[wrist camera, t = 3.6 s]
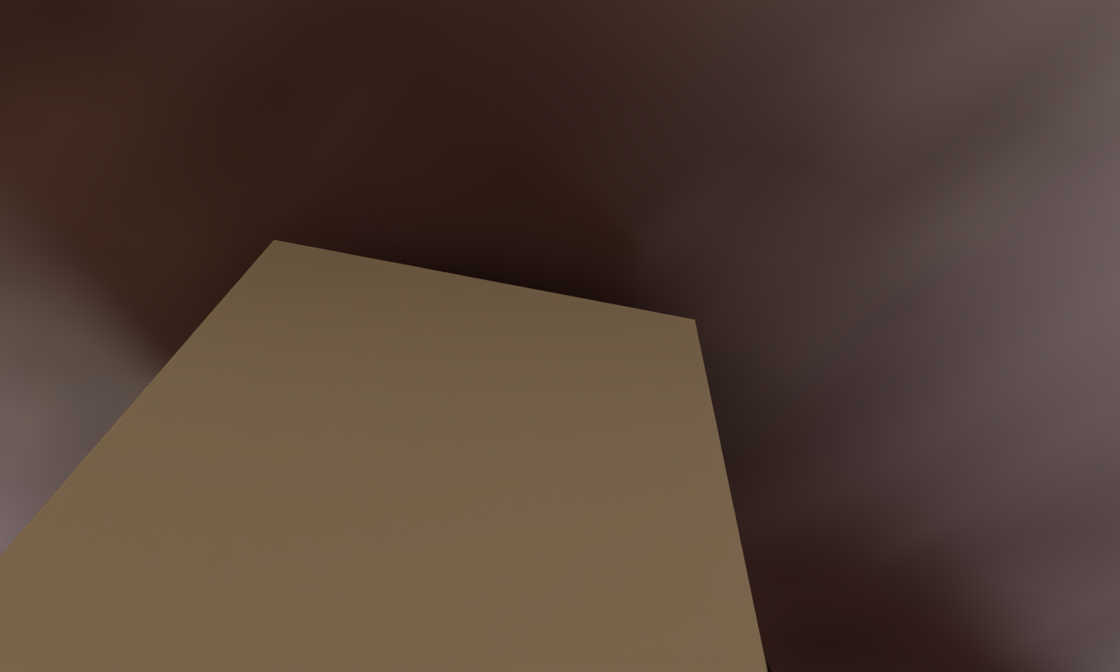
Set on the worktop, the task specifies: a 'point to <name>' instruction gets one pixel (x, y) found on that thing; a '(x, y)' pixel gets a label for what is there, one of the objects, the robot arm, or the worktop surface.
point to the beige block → (396, 492)
